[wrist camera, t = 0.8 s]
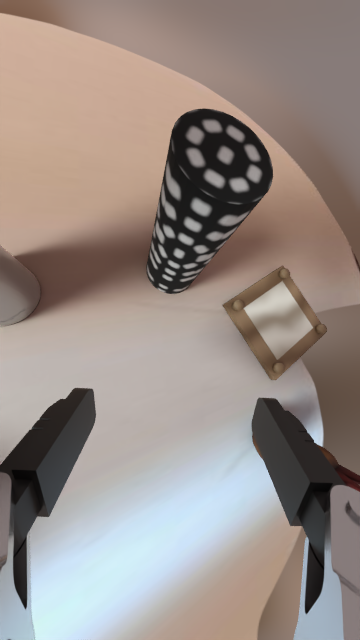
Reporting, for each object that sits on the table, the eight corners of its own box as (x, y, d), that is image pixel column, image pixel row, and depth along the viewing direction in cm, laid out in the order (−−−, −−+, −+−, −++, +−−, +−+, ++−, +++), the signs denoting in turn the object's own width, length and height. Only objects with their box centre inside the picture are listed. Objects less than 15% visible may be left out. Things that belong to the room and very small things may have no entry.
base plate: (222, 305, 34) (228, 301, 32) (278, 268, 39) (286, 263, 37) (270, 379, 34) (280, 380, 32) (321, 332, 39) (331, 331, 37)
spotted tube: (158, 241, 34) (195, 90, 15) (199, 263, 35) (282, 150, 16) (138, 280, 31) (151, 160, 12) (182, 301, 33) (257, 224, 14)
